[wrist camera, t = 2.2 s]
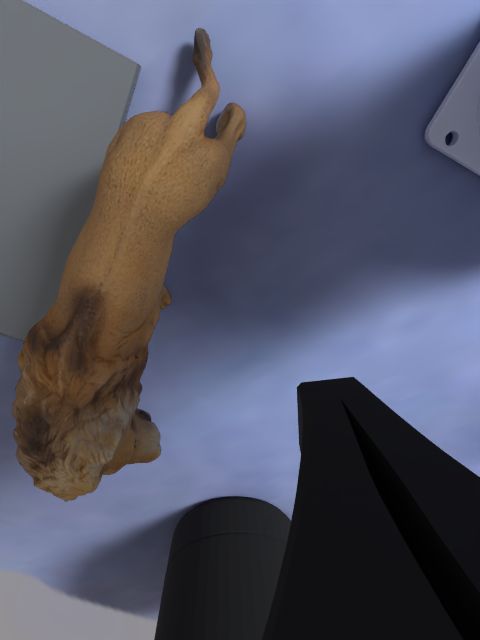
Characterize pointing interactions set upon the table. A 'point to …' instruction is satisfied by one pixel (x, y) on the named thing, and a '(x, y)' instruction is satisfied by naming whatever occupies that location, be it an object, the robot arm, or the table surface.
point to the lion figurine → (118, 295)
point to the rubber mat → (50, 150)
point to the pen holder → (223, 571)
